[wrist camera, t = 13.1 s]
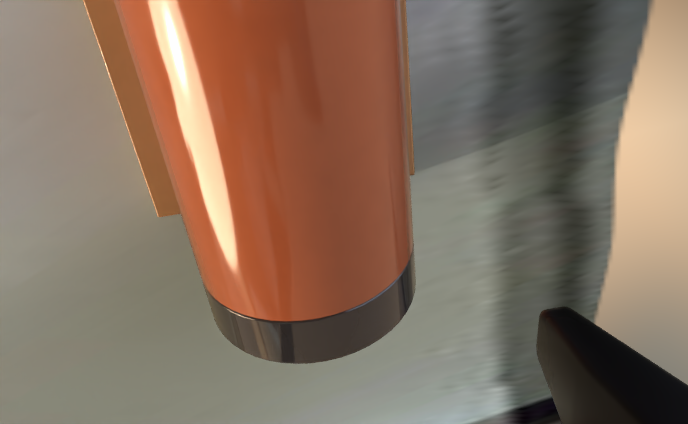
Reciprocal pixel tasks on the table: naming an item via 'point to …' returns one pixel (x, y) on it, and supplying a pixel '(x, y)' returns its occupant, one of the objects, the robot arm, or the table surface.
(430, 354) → the table surface
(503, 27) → the table surface
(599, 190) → the table surface
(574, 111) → the table surface
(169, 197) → the coaster
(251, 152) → the jar
